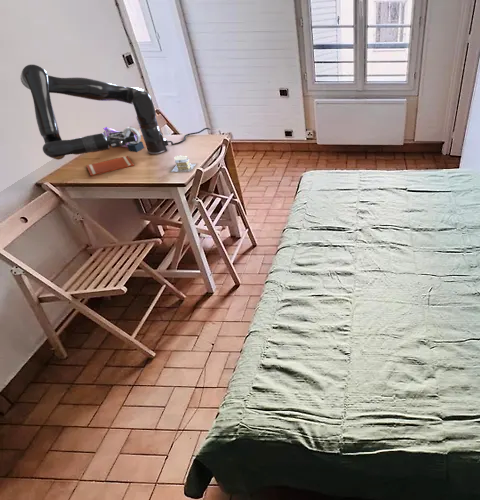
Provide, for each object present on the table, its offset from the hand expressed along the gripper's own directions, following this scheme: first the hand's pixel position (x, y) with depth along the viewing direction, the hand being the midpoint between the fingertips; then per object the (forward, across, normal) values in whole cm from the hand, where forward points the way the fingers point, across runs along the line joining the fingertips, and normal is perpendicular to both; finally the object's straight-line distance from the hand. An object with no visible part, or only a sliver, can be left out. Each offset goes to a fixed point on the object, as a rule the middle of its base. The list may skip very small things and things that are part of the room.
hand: (134, 136), depth 184 cm
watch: (-1, 0, +7) cm, 7 cm away
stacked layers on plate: (+17, -7, +18) cm, 26 cm away
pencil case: (-8, +43, +18) cm, 47 cm away
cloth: (-16, +15, +18) cm, 29 cm away
